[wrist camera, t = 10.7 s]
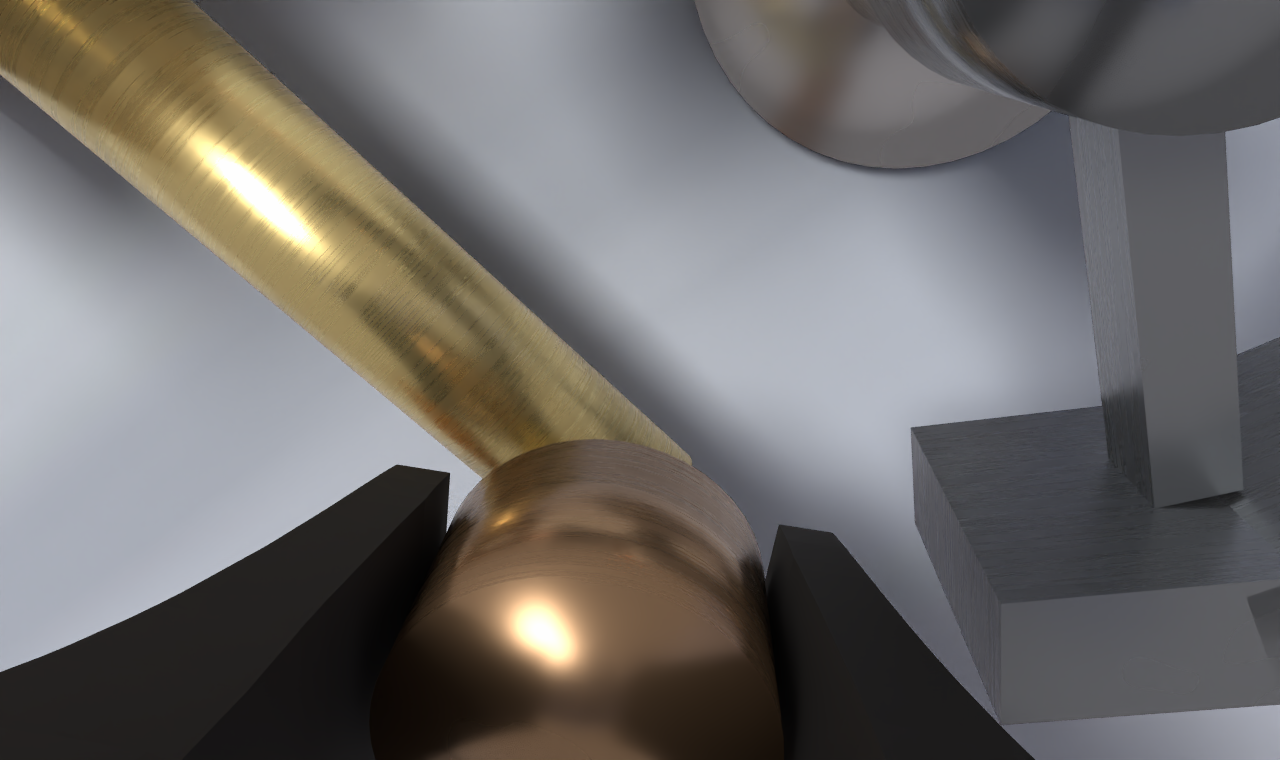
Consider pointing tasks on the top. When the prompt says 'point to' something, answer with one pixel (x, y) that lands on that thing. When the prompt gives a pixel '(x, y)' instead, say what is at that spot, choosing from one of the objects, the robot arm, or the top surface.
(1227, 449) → the locking wheel
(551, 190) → the top surface
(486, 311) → the brass bar with knob
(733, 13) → the axle post
